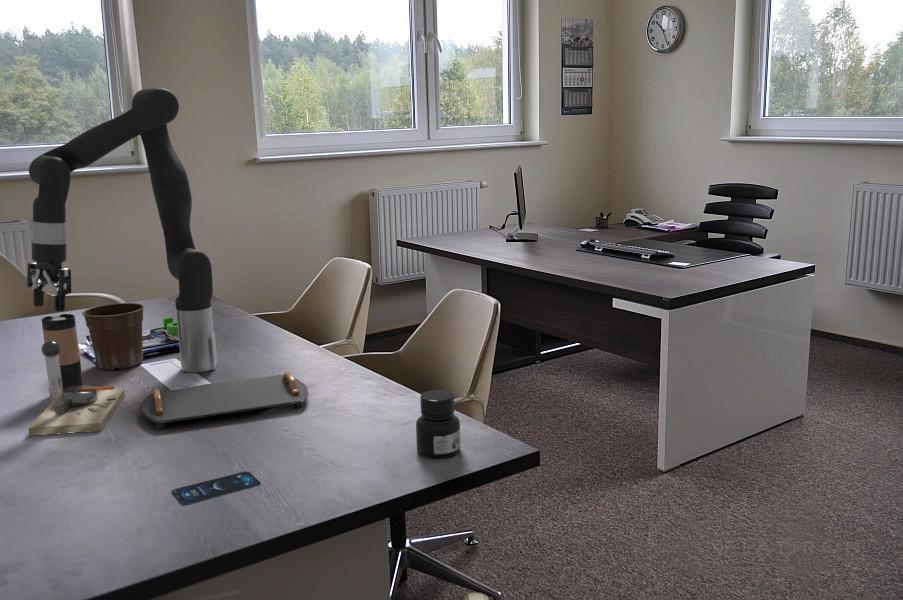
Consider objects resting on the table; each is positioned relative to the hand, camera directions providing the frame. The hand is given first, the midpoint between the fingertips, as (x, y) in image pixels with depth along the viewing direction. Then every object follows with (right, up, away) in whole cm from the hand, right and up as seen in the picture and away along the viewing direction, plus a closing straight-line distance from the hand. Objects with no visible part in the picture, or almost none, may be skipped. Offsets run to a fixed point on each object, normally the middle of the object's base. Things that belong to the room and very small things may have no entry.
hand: (48, 308), depth 202 cm
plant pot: (+3, -16, +36) cm, 39 cm away
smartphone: (+53, -34, -45) cm, 77 cm away
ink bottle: (+94, -29, -30) cm, 103 cm away
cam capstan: (+10, -23, -5) cm, 25 cm away
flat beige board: (+10, -25, -5) cm, 27 cm away
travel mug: (0, -22, +10) cm, 24 cm away
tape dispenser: (+9, -10, +67) cm, 68 cm away
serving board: (+43, -24, 0) cm, 49 cm away
